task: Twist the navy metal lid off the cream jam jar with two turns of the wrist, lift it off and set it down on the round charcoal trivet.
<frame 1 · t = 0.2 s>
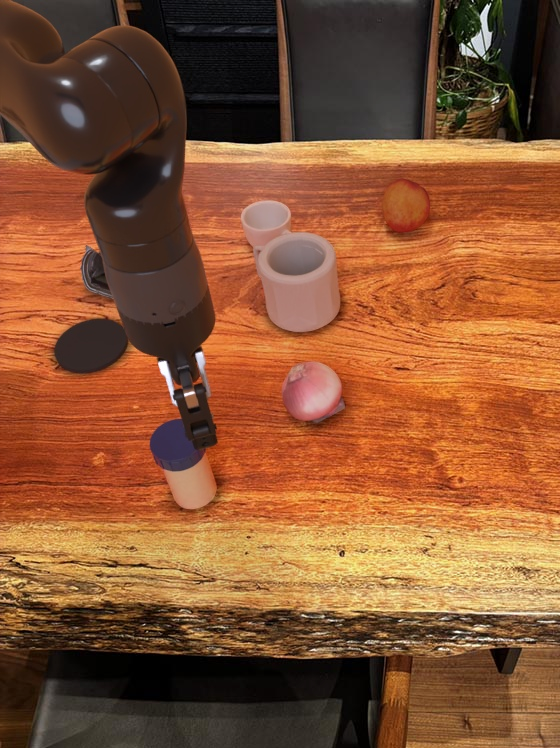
hand: (197, 410, 77), 21 cm above the table, tool pointing down, fingers open, 8 cm apart
jar: (195, 490, 96), on the table
trivet: (92, 347, 113), on the table
chocolate cake: (131, 284, 122), on the table
onion: (316, 409, 104), on the table
fruit: (406, 227, 129), on the table
teacup: (275, 246, 127), on the table
jar lid: (176, 441, 89), point 10 cm above the table, screwed on, not yet turned
mug: (296, 305, 118), on the table
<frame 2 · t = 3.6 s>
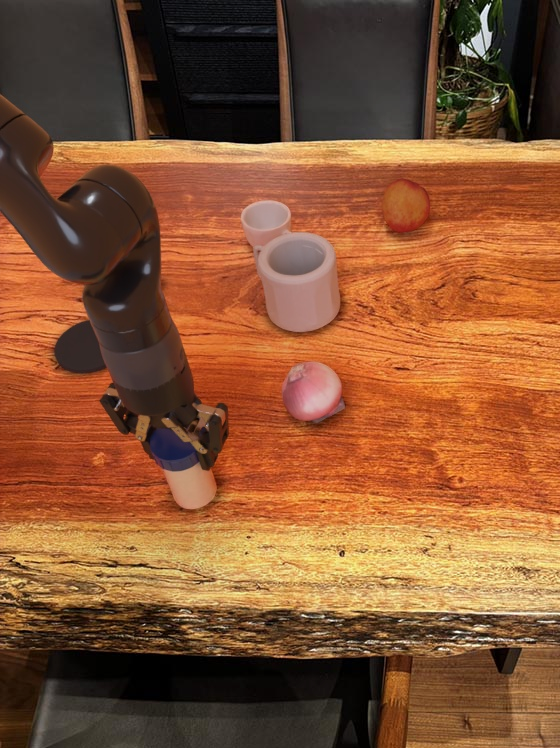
hand: (183, 458, 91), 7 cm above the table, tool pointing down, fingers closed on jar lid, 5 cm apart
jar lid: (176, 441, 89), point 10 cm above the table, screwed on, not yet turned, touching gripper
everything else where it was.
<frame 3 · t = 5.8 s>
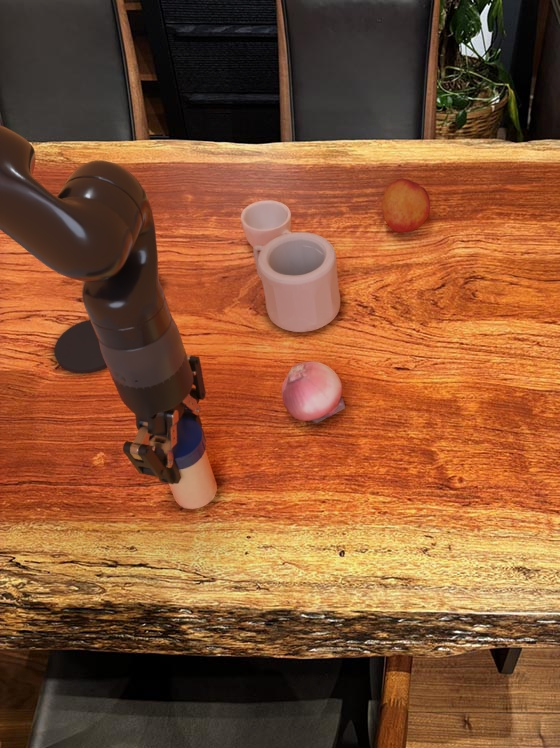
hand: (183, 456, 91), 7 cm above the table, tool pointing down, fingers closed on jar lid, 5 cm apart
jar lid: (176, 439, 89), point 10 cm above the table, turned 90° so far, risen 0.2 cm, still on its thread, touching gripper
everything else where it was.
when the fingers open (6 cm above the table, at t = 7.0 s): jar lid stays where it is, point 10 cm above the table.
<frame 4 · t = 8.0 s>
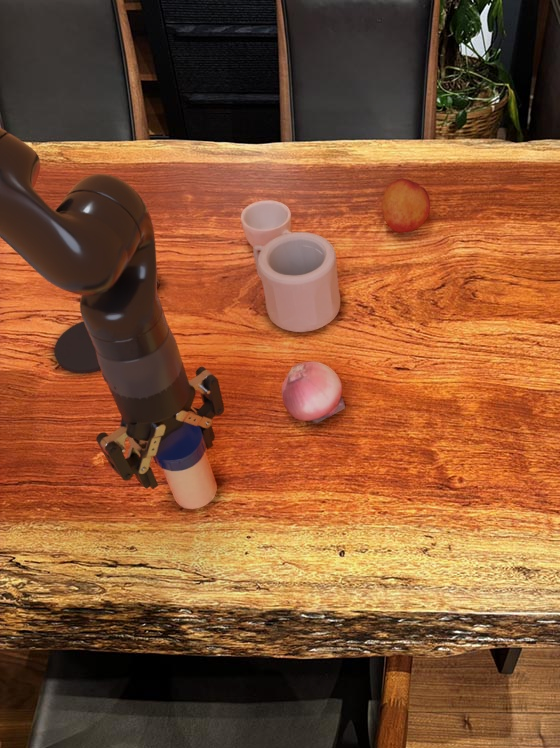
hand: (179, 462, 91), 6 cm above the table, tool pointing down, fingers open, 7 cm apart
jar lid: (176, 440, 89), point 10 cm above the table, turned 88° so far, risen 0.2 cm, still on its thread, touching gripper
everything else where it was.
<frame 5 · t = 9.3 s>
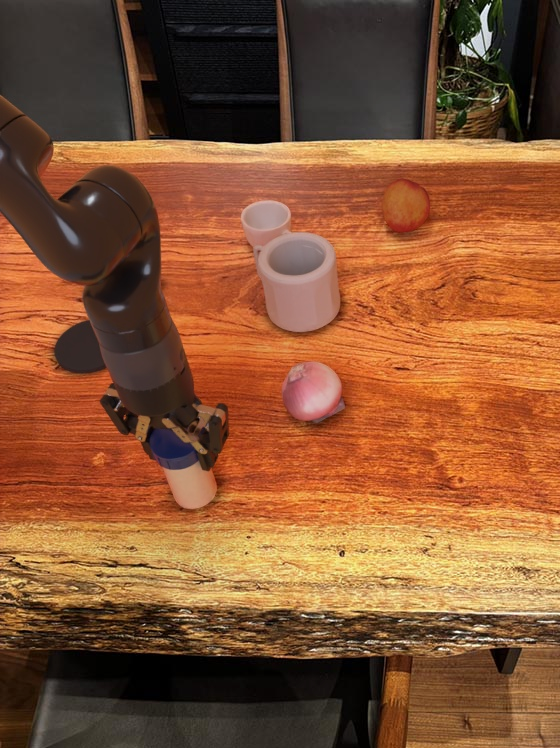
hand: (183, 459, 91), 7 cm above the table, tool pointing down, fingers closed on jar lid, 6 cm apart
jar lid: (176, 439, 89), point 10 cm above the table, turned 83° so far, risen 0.2 cm, still on its thread, touching gripper
everything else where it was.
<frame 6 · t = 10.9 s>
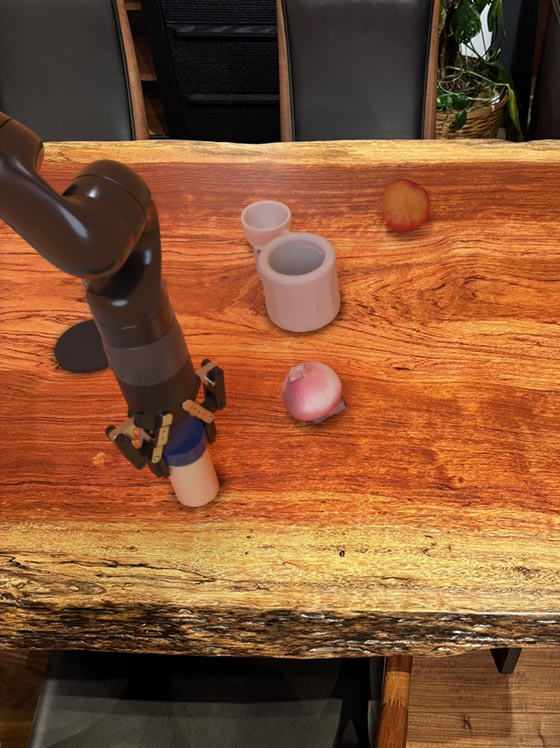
hand: (186, 455, 92), 7 cm above the table, tool pointing down, fingers closed on jar lid, 6 cm apart
jar lid: (178, 436, 89), point 10 cm above the table, turned 142° so far, risen 0.4 cm, still on its thread, touching gripper
everything else where it was.
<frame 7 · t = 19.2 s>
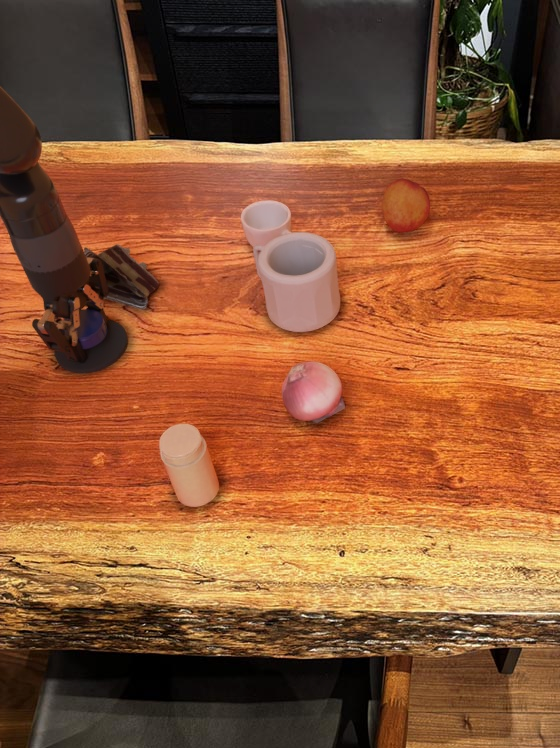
hand: (90, 343, 112), 1 cm above the table, tool pointing down, fingers closed on jar lid, 6 cm apart
jar lid: (82, 325, 110), point 4 cm above the table, off its thread, touching gripper
everything else where it was.
when the fingers open (2 cm above the table, at t = 27.8 s): jar lid drops 3 cm, resting on trivet.
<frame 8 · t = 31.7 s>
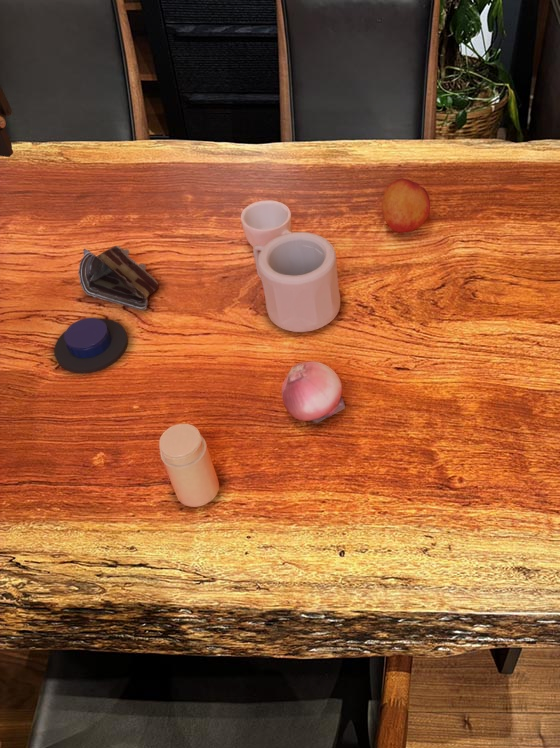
jar lid: (86, 334, 111), point 2 cm above the table, off its thread, touching trivet
everything else where it was.
at the end: jar lid inside the target area on the trivet (0.1 cm from its centre), point 2.5 cm above the trivet's base; the gripper is holding nothing; jar tilted 0° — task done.
